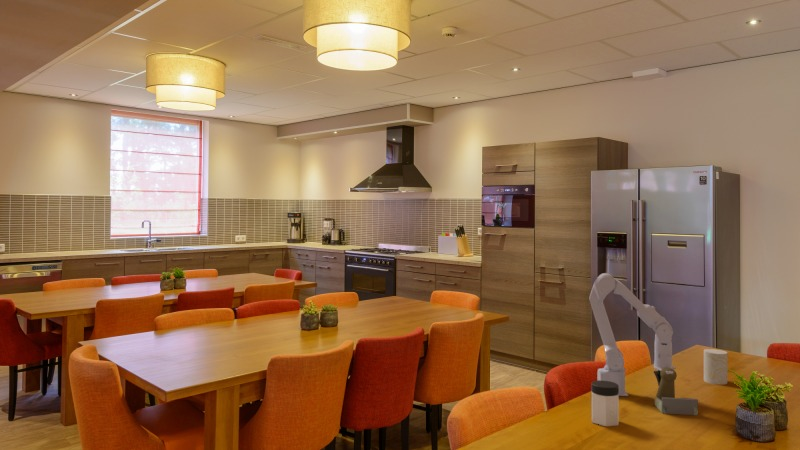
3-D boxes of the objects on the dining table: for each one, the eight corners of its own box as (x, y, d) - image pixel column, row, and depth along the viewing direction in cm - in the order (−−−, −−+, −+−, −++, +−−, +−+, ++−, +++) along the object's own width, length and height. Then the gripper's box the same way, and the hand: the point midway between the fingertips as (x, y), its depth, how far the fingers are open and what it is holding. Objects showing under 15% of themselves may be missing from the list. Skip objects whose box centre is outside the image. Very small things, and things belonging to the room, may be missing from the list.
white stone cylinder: (705, 383, 214) (705, 352, 214) (702, 377, 222) (702, 348, 222) (729, 385, 211) (729, 354, 211) (725, 379, 219) (725, 350, 219)
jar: (599, 427, 168) (599, 388, 168) (585, 418, 176) (585, 381, 176) (625, 425, 170) (625, 386, 170) (609, 416, 178) (609, 379, 178)
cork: (677, 403, 191) (680, 375, 188) (658, 401, 192) (661, 373, 189) (672, 393, 197) (676, 366, 194) (654, 391, 198) (657, 364, 195)
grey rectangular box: (662, 413, 181) (662, 398, 181) (654, 405, 189) (654, 390, 189) (697, 415, 179) (697, 399, 179) (688, 406, 187) (688, 392, 187)
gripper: (682, 359, 189) (682, 398, 189) (668, 349, 203) (668, 386, 204) (660, 359, 190) (660, 398, 190) (648, 349, 205) (648, 385, 205)
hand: (663, 392), depth 197 cm, fingers closed, pressing on cork
